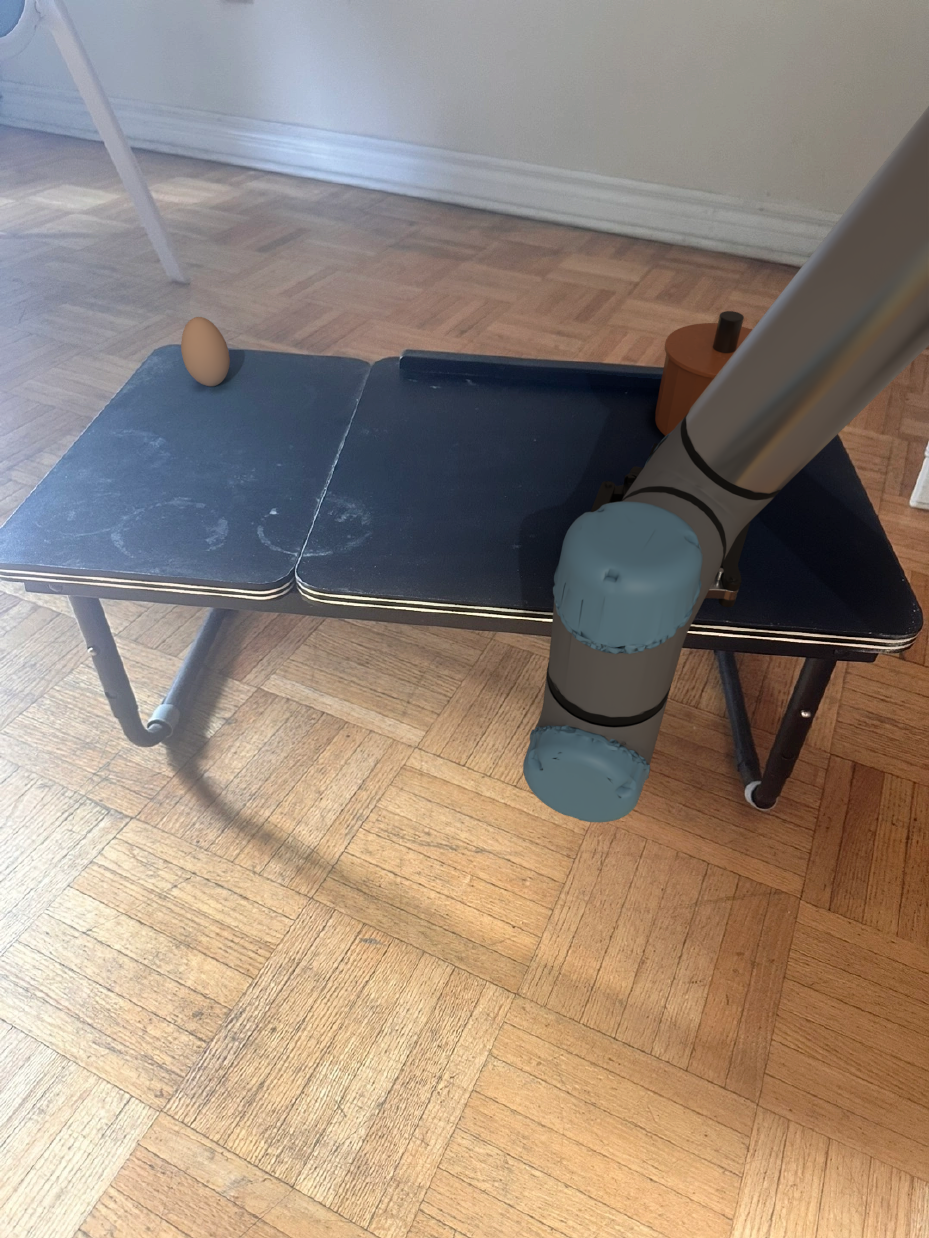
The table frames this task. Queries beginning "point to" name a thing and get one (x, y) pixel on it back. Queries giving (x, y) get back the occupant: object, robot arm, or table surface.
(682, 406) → the pot
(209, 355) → the egg
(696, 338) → the pot lid
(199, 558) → the table surface
